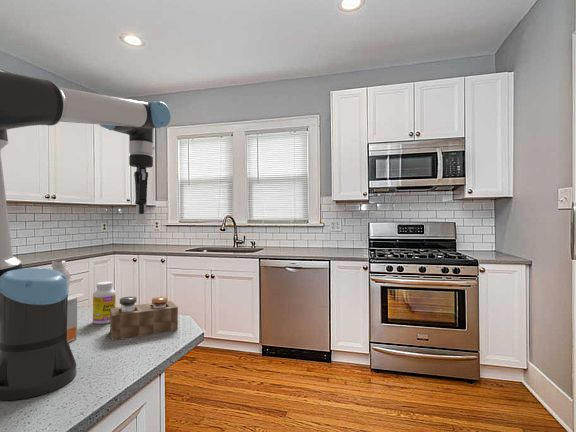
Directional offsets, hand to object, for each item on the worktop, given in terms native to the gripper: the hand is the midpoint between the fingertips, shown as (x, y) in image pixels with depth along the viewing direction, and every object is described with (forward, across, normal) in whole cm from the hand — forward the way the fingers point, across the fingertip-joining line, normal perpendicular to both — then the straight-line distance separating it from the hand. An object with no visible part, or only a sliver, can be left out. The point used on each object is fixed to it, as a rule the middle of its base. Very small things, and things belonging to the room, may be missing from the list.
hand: (140, 223), depth 119 cm
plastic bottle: (+33, +8, +24) cm, 41 cm away
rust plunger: (+32, -15, -3) cm, 35 cm away
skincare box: (+33, -14, +22) cm, 42 cm away
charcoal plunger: (+31, -15, +5) cm, 35 cm away
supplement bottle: (+33, +1, +11) cm, 34 cm away
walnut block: (+32, -15, +1) cm, 36 cm away
